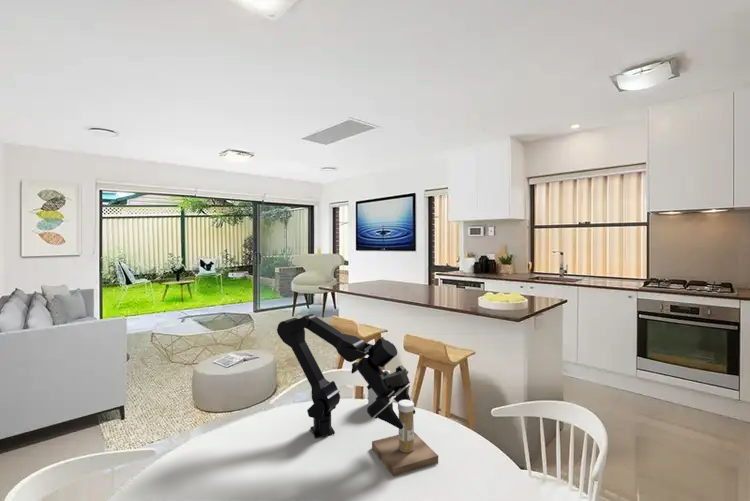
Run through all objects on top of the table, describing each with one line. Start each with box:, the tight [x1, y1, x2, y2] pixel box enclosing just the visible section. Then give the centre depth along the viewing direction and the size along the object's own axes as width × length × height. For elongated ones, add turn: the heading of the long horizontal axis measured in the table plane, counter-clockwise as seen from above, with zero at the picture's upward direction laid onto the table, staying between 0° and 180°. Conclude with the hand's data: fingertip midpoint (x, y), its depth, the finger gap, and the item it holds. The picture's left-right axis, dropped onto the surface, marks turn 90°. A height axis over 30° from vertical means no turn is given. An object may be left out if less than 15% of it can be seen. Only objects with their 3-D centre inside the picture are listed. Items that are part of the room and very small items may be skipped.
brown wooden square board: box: [371, 431, 439, 477], centre depth 103 cm, size 14×14×2 cm
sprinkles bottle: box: [397, 399, 415, 453], centre depth 103 cm, size 5×5×14 cm
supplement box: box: [367, 369, 391, 408], centre depth 133 cm, size 7×7×13 cm
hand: (408, 420), depth 102 cm, fingers open, 9 cm apart
